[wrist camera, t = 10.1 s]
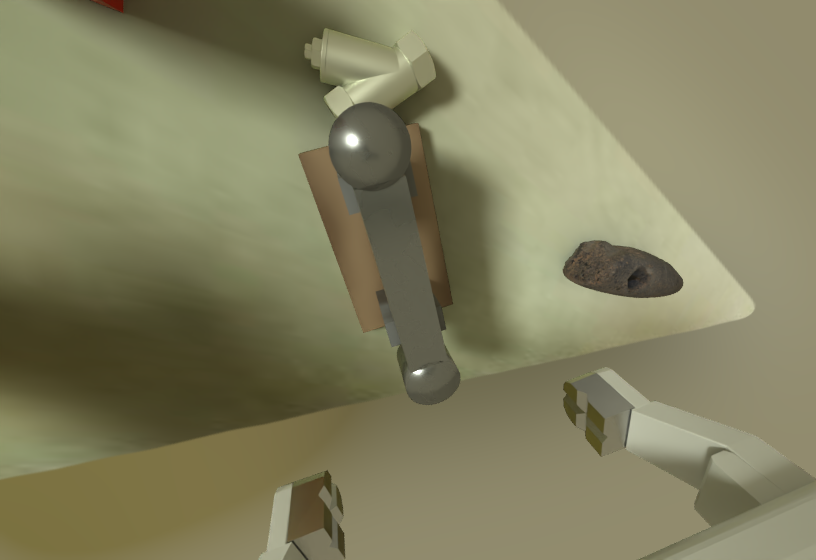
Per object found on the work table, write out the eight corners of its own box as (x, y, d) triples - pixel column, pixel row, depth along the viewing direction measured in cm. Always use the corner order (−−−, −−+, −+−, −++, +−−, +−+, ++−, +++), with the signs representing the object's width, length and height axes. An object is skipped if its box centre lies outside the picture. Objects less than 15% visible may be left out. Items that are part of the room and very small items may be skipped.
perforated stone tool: (661, 253, 40) (720, 275, 34) (638, 290, 42) (691, 317, 36) (567, 226, 36) (616, 247, 29) (546, 269, 37) (589, 297, 31)
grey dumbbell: (403, 377, 30) (413, 411, 26) (318, 116, 19) (316, 114, 16) (448, 362, 30) (464, 393, 26) (388, 98, 20) (400, 92, 16)
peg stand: (362, 325, 35) (369, 371, 28) (299, 153, 27) (289, 161, 20) (448, 297, 36) (475, 335, 29) (414, 123, 28) (440, 121, 21)
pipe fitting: (296, 61, 25) (350, 141, 27) (288, 45, 21) (351, 139, 24) (381, -5, 24) (428, 83, 27) (387, -32, 20) (441, 73, 23)
